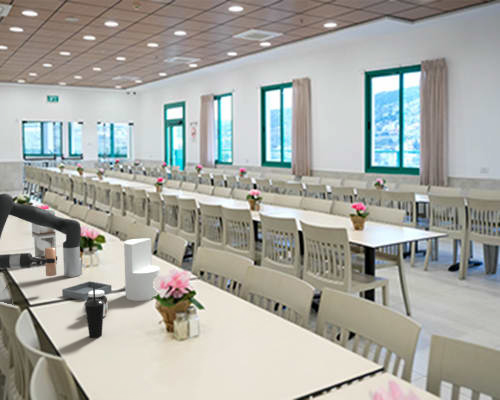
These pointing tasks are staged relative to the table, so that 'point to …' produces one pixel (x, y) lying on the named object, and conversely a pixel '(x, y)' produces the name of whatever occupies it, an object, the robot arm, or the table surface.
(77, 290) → the shallow square tray
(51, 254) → the pillar candle
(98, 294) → the spread jar
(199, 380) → the table surface
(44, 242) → the display case
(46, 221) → the robot arm
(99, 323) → the drinking cup
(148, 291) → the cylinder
